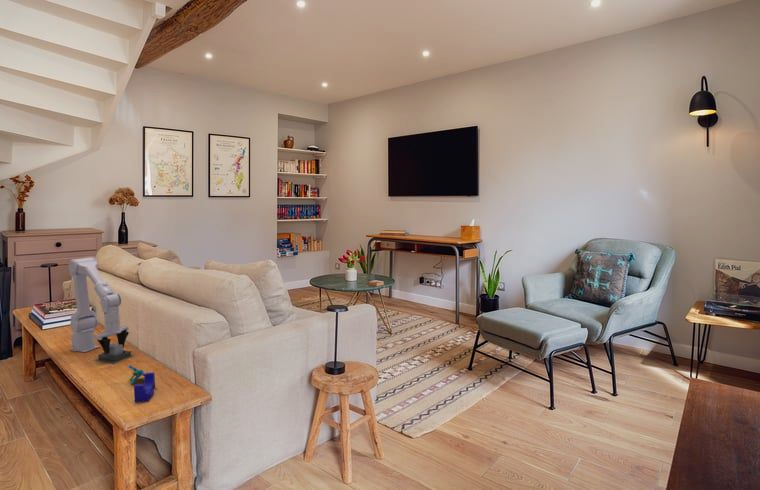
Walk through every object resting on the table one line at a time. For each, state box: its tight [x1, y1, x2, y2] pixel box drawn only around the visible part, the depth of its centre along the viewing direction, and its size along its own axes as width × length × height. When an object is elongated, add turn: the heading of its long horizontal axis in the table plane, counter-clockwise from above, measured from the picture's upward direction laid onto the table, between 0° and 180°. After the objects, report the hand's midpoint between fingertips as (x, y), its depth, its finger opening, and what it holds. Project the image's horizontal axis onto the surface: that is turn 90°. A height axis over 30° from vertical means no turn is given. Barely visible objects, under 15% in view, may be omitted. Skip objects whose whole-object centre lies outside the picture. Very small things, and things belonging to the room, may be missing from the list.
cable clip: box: [133, 371, 156, 403], centre depth 163 cm, size 12×4×6 cm, turn 9°
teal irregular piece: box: [128, 364, 145, 386], centre depth 173 cm, size 11×6×10 cm
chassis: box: [94, 349, 135, 365], centre depth 199 cm, size 11×10×2 cm
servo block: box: [105, 342, 124, 356], centre depth 199 cm, size 6×4×6 cm, turn 71°
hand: (114, 350), depth 199 cm, fingers open, 7 cm apart
